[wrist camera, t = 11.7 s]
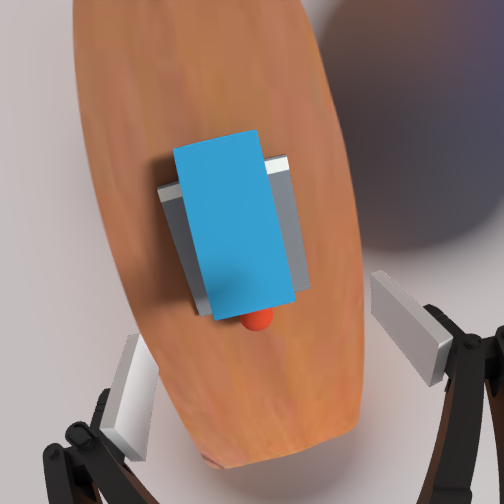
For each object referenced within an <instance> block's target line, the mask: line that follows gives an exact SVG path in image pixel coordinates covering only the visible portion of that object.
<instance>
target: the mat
mask: <svg viewBox="0 0 504 504" xmlns="http://www.w3.org/2000/svg"><path fill="white" fill-rule="evenodd" d="M264 162H265V166H266V170H267V174H268V179H269V183H270V187H271V191H272V195H273V200H274V204H275V208H276V212H277V217H278V221H279V225H280V230H281V234H282V239H283V243H284V248H285V252H286V257H287V261H288V266H289V270H290V275H291V280H292V285H293V289H294V293H295V292H299V291H302V290H306V289H310V281H309V275H308V269H307V263H306V257H305V251H304V245H303V239H302V234H301V228H300V223H299V217H298V212H297V207H296V202H295V196H294V191H293V186H292V181H291V176H290V172H289V166H288V161H287V157H286V155H285V154H284V155H279V156H274V157H270V158H265V159H264ZM157 191H158V194H159V197H160V201H161V203H162V206H163V210H164V213H165V216H166V219H167V223H168V226H169V229H170V232H171V235H172V238H173V241H174V244H175V247H176V250H177V253H178V256H179V259H180V262H181V265H182V268H183V271H184V273H185V276H186V279H187V282H188V285H189V287H190V290H191V293H192V296H193V298H194V301H195V304H196V307H197V309H198V312H199V315H200V317H202V316H206V315H210V314H212V311H211V307H210V303H209V300H208V296H207V292H206V289H205V285H204V281H203V277H202V274H201V270H200V266H199V262H198V258H197V254H196V250H195V246H194V242H193V238H192V234H191V230H190V226H189V221H188V217H187V213H186V209H185V204H184V200H183V195H182V191H181V186H180V182H179V181H176V182H173V183H170V184H166V185H163V186H160V187H157Z"/></svg>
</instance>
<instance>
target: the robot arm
mask: <svg viewBox="0 0 504 504" xmlns="http://www.w3.org/2000/svg"><path fill="white" fill-rule="evenodd" d="M370 278H371V313H372V314H373V316H374V317H375V318H376V319H377V320H378V322H379V323H380V324H381V326H382V327H383V328H384V329H385V331H386V332H387V333H388V334H389V336H390V337H391V338H392V339H393V341H394V342H395V343H396V345H397V346H398V347H399V348H400V350H401V351H402V352H403V353H404V355H405V356H406V357H407V358H408V360H409V361H410V362H411V364H412V365H413V366H414V368H415V369H416V370H417V372H418V373H419V374H420V376H421V377H422V378H423V380H424V381H425V382H426V383H427V385H428V386H429V387H431V386H432V385H435V384H436V383H438V382H440V381H442V379H443V375H444V372H445V373H446V374H447V375H448V377H449V378H448V381H447V385H446V388H445V392H446V394H445V400H444V406H443V411H442V416H441V421H440V426H439V430H438V434H437V439H436V443H435V447H434V450H433V454H432V458H431V461H430V465H429V468H428V472H427V474H426V478H425V481H424V484H423V487H422V490H421V493H420V495H419V498H418V501H417V503H416V504H471V500H472V492H471V490H470V486H471V481H472V477H473V472H474V467H475V462H476V457H477V451H478V445H479V438H480V429H481V422H482V412H483V399H484V382H485V386H486V391H487V395H488V400H489V405H490V410H491V415H492V421H493V427H494V434H495V441H496V449H497V457H498V458H497V459H498V470H499V490H500V504H504V325H503V326H501V327H499V328H498V329H497V331H496V334H495V336H492V337H488V338H483V339H482V338H481V337H480V336H478V335H476V334H466V333H464V332H463V331H462V330H461V329H460V328H459V327H458V326H457V325H456V324H455V323H454V322H453V321H452V320H451V319H449V318H448V317H447V316H446V315H445V314H444V313H443V312H442V311H441V310H440V309H439V308H437V307H435V306H433V305H430V304H428V305H425V306H423V307H422V306H421V305H420V304H419V303H418V302H417V301H416V300H415V299H414V298H413V297H411V296H410V295H409V294H408V293H407V292H406V291H405V290H404V289H403V288H402V287H401V286H399V285H398V284H397V283H396V282H395V281H394V280H393V279H392V278H390V277H389V276H388V275H387V274H386V273H385V272H384V271H383V270H380V271H377V272H374V273H371V274H370ZM158 371H159V368H158V366H157V364H156V362H155V361H154V359H153V357H152V355H151V353H150V351H149V349H148V348H147V346H146V344H145V342H144V340H143V338H142V336H141V334H140V333H139V334H134V335H129V336H128V338H127V341H126V344H125V347H124V350H123V352H122V356H121V359H120V362H119V365H118V367H117V371H116V374H115V377H114V380H113V383H112V386H111V388H109V389H104V391H103V392H102V393H101V395H100V396H99V399H98V401H97V406H96V408H95V412H94V414H93V417H92V421H91V424H90V427H89V426H88V425H87V424H86V423H85V422H82V421H80V422H75V423H73V424H72V425H70V426H69V427H68V429H67V431H66V433H65V438H66V440H67V441H68V442H69V443H70V444H71V445H72V446H71V447H68V448H63V447H62V446H61V445H60V444H58V443H53V444H50V445H48V446H47V447H46V449H45V450H44V452H43V464H44V474H45V481H46V488H47V494H48V500H49V504H103V503H102V500H101V497H100V494H99V490H100V492H101V493H102V495H103V496H104V498H105V500H106V501H107V502H108V504H159V503H158V502H157V500H156V499H155V498H154V497H153V496H152V495H151V494H150V492H149V491H148V490H147V489H146V488H145V487H144V486H143V484H142V483H141V482H140V481H139V480H138V478H137V477H136V476H135V474H134V473H133V472H132V471H131V469H130V468H129V467H128V466H127V464H125V463H124V458H125V456H126V457H127V458H128V459H129V460H130V461H146V453H147V444H148V436H149V429H150V422H151V415H152V408H153V402H154V395H155V389H156V383H157V377H158ZM98 489H99V490H98Z"/></svg>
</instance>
